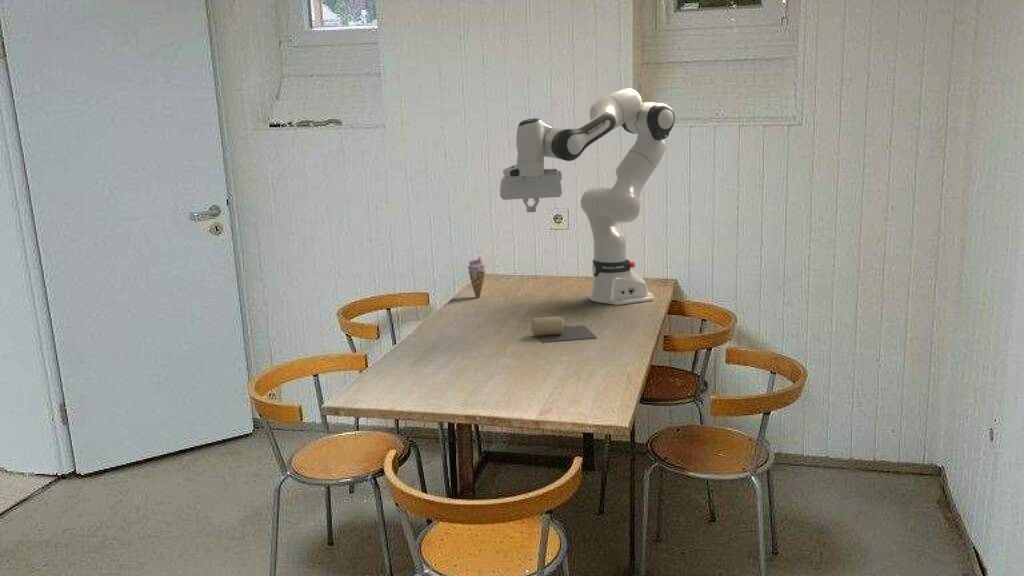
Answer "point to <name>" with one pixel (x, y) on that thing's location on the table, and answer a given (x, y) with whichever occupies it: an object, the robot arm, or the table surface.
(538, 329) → the candle
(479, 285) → the ice cream cone
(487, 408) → the table surface
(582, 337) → the mat
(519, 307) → the table surface
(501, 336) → the table surface
